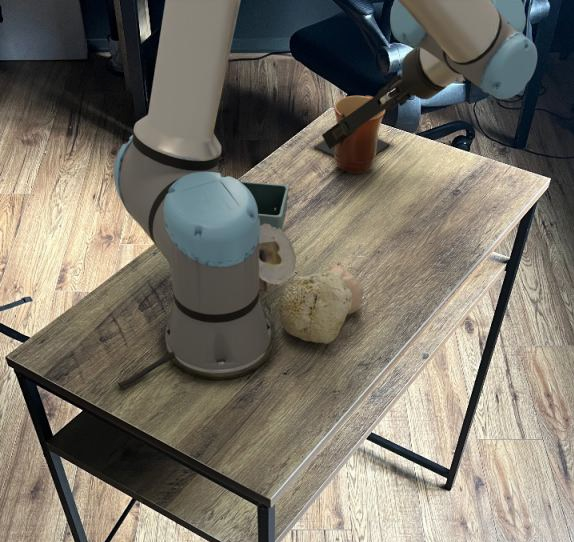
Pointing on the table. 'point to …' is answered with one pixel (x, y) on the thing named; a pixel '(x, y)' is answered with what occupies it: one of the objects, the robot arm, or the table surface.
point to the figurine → (274, 257)
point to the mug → (357, 138)
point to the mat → (325, 148)
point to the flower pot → (269, 202)
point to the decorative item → (315, 306)
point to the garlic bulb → (350, 286)
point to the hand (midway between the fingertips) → (348, 127)
